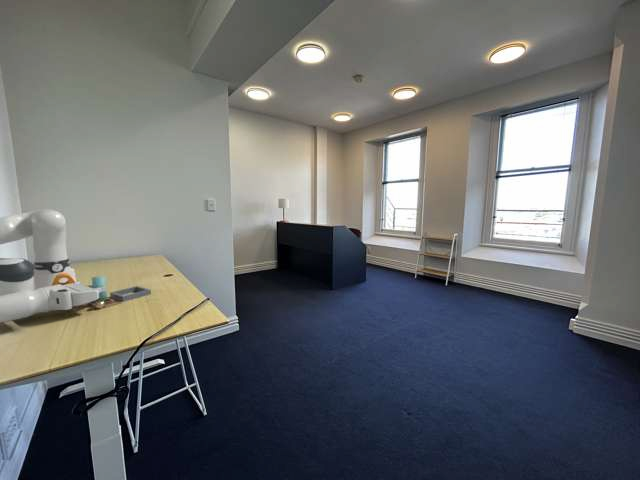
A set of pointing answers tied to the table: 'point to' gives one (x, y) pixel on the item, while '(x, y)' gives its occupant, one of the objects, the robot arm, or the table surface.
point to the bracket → (63, 275)
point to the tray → (120, 294)
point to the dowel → (98, 283)
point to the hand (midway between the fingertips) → (102, 287)
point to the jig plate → (107, 304)
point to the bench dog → (99, 305)
